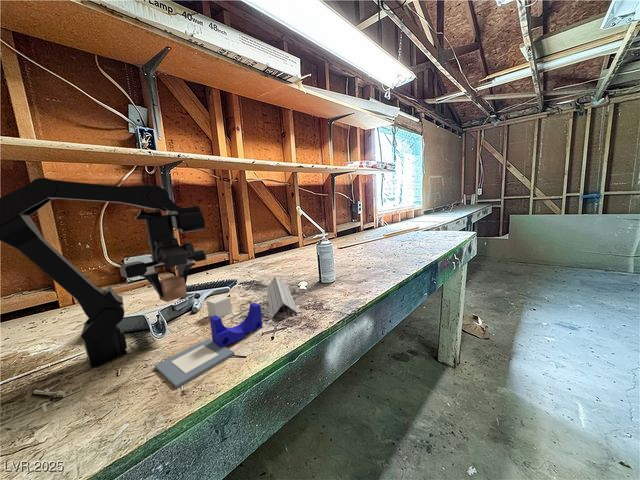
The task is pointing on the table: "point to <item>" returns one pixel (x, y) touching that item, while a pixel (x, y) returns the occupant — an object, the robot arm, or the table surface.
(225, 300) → the cream block
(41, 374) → the table surface
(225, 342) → the blue cradle bracket
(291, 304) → the corner bead
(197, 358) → the grey base plate
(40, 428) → the table surface
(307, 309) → the table surface
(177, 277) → the terracotta block
